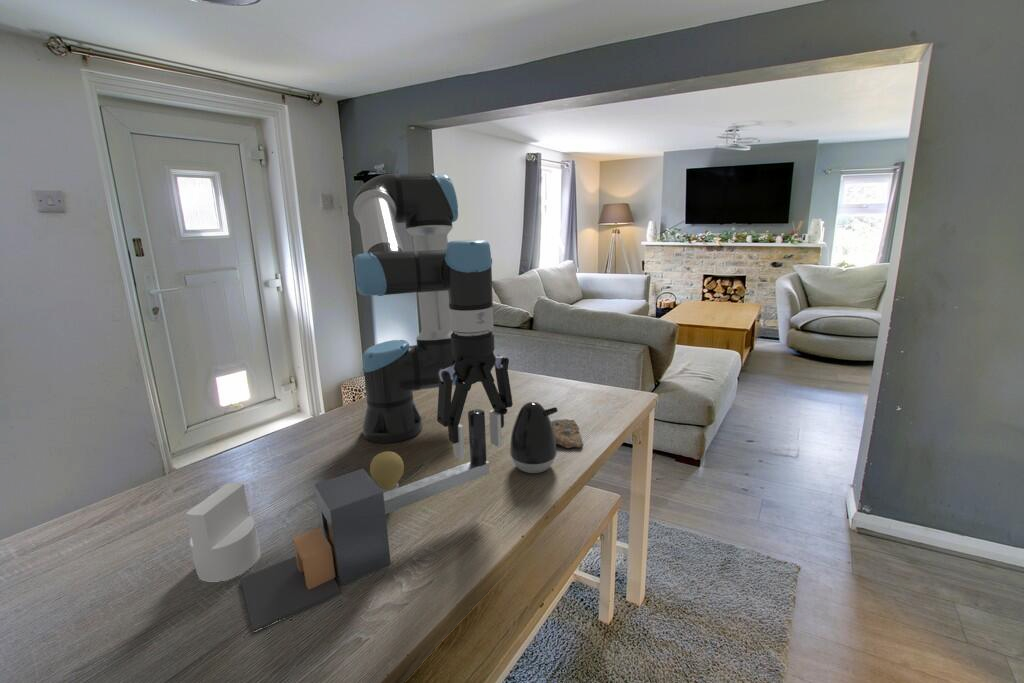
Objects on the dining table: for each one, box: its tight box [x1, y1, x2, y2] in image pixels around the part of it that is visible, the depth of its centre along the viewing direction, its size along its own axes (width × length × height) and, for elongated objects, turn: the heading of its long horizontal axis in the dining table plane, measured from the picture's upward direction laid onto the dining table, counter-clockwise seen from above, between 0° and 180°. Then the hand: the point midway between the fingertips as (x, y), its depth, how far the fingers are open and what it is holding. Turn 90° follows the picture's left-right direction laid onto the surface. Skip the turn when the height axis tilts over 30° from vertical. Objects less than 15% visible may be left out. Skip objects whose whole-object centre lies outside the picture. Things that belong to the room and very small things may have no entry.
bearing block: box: [313, 468, 392, 587], centre depth 77 cm, size 9×8×13 cm
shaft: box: [327, 408, 490, 526], centre depth 81 cm, size 3×29×12 cm, turn 126°
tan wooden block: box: [292, 527, 336, 590], centre depth 74 cm, size 6×4×6 cm, turn 38°
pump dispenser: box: [509, 401, 558, 474], centre depth 103 cm, size 10×10×15 cm
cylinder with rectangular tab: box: [185, 482, 261, 581], centre depth 77 cm, size 9×9×12 cm
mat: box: [240, 555, 341, 633], centre depth 73 cm, size 12×12×1 cm
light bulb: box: [369, 450, 405, 493], centre depth 94 cm, size 6×6×10 cm
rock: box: [550, 418, 584, 449], centre depth 117 cm, size 9×6×10 cm
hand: (478, 450), depth 89 cm, fingers open, 7 cm apart
